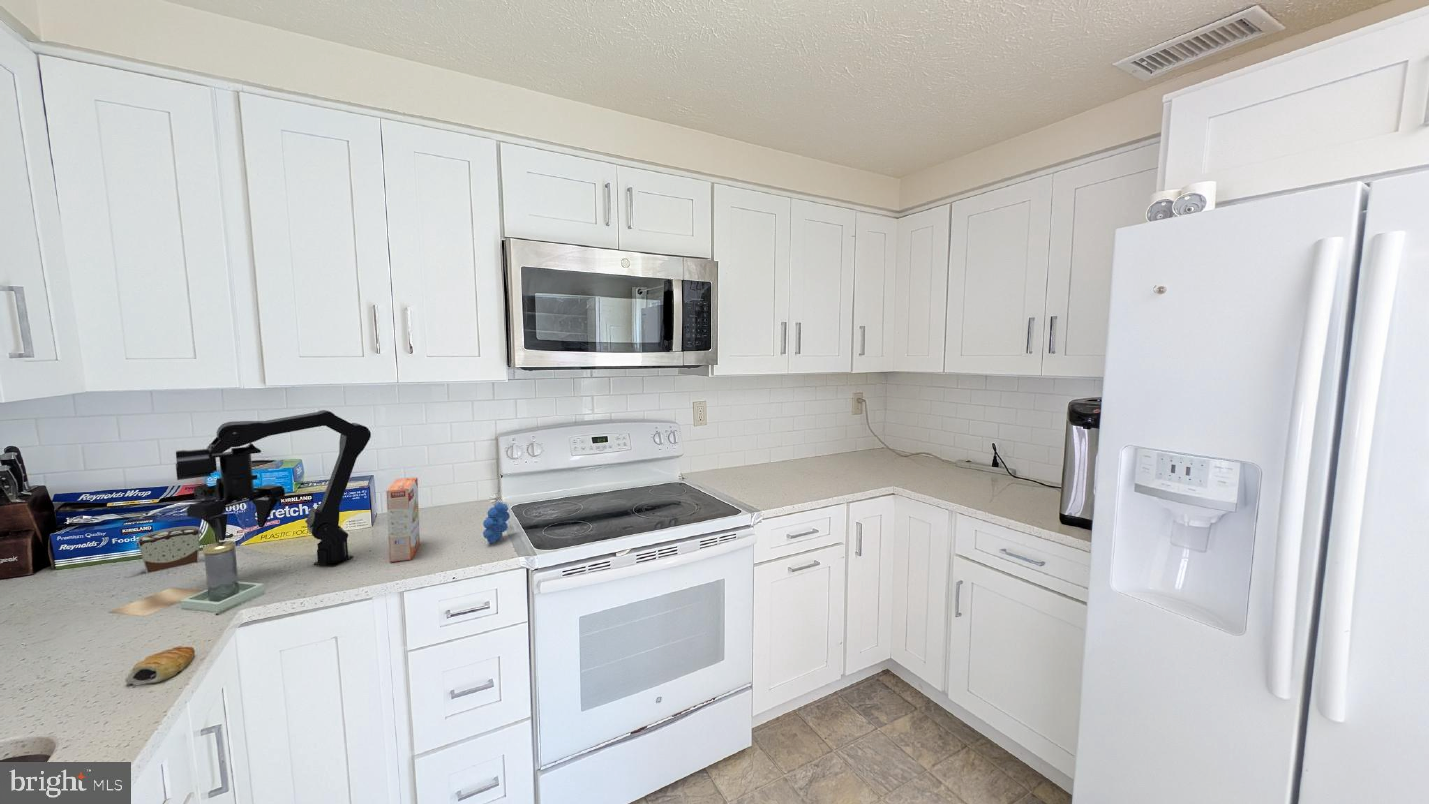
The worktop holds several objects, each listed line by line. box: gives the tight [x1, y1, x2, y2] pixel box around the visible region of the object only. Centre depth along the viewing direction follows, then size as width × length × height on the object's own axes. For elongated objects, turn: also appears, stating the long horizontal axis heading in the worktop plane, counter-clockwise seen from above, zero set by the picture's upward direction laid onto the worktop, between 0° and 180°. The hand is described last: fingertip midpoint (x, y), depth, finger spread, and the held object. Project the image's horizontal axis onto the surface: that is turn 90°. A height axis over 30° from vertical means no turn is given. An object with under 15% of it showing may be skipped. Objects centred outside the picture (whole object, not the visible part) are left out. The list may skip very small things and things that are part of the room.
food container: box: [134, 525, 204, 574], centre depth 137 cm, size 12×6×10 cm, turn 141°
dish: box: [180, 581, 265, 616], centre depth 119 cm, size 10×10×2 cm
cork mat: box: [107, 587, 206, 617], centre depth 118 cm, size 12×10×1 cm
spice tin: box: [202, 540, 240, 602], centre depth 118 cm, size 5×5×13 cm
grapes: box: [482, 501, 511, 544], centre depth 158 cm, size 12×7×12 cm, turn 168°
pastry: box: [124, 645, 196, 686], centre depth 94 cm, size 9×7×4 cm
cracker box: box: [386, 477, 421, 563], centre depth 147 cm, size 14×6×21 cm, turn 22°
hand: (242, 533), depth 127 cm, fingers open, 9 cm apart
